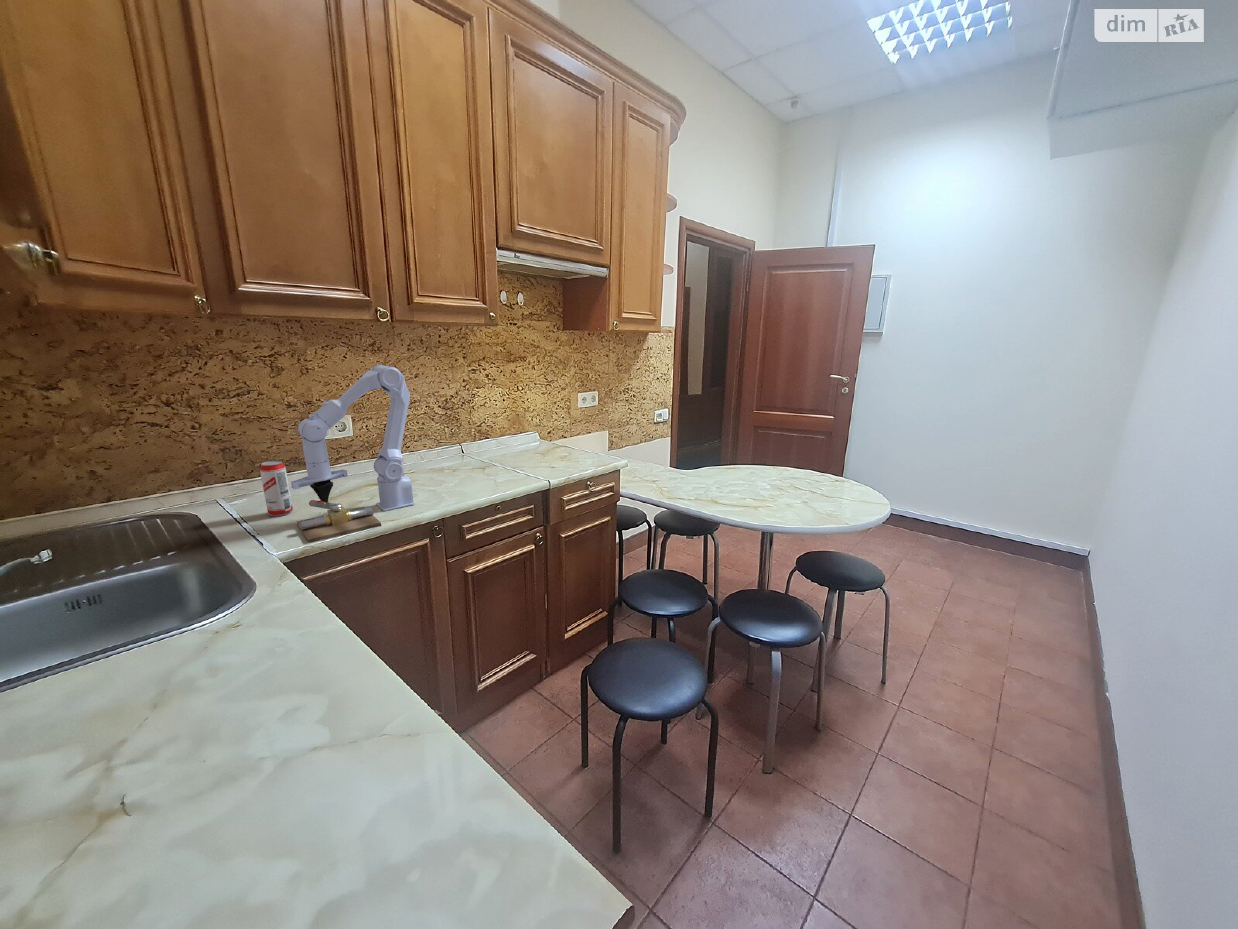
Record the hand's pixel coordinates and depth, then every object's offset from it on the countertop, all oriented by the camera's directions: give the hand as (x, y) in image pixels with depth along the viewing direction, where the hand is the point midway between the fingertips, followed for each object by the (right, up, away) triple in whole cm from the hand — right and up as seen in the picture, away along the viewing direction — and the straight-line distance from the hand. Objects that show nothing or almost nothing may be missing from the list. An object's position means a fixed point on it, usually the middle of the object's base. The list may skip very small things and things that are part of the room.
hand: (324, 505), depth 139 cm
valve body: (+6, -5, -2) cm, 8 cm away
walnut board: (+6, -5, -2) cm, 8 cm away
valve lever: (+2, 0, -2) cm, 3 cm away
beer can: (-17, -3, +5) cm, 18 cm away
